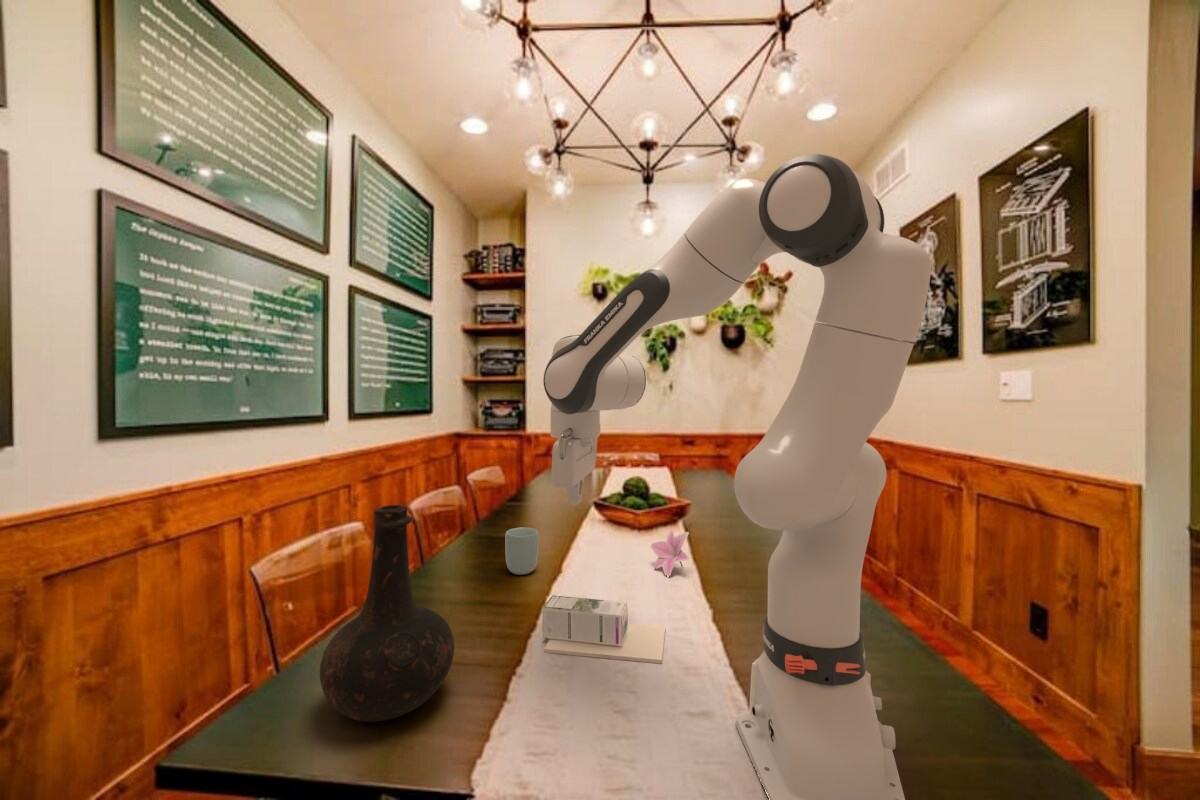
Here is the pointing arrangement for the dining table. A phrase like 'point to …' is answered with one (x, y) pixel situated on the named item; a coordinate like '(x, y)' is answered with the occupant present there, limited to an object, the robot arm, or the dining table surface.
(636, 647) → the mat
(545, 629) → the syrup box
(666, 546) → the lily
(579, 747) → the dining table surface
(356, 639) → the glass bottle
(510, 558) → the cup
